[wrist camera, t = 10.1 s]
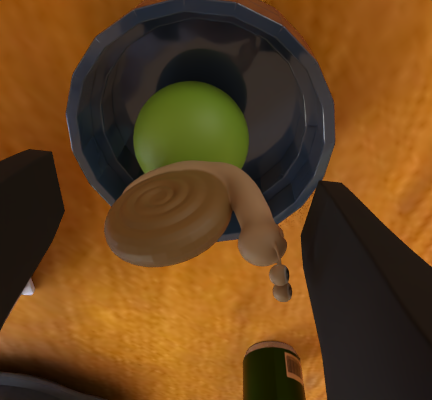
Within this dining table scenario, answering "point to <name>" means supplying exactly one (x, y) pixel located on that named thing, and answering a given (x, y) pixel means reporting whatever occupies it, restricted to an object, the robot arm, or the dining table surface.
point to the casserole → (37, 389)
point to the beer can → (272, 373)
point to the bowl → (214, 75)
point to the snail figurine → (193, 186)
